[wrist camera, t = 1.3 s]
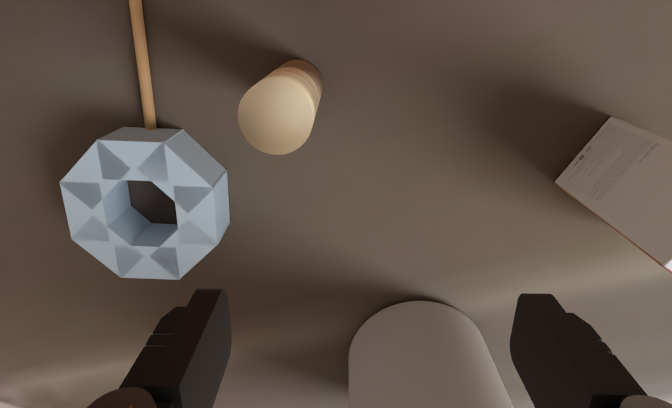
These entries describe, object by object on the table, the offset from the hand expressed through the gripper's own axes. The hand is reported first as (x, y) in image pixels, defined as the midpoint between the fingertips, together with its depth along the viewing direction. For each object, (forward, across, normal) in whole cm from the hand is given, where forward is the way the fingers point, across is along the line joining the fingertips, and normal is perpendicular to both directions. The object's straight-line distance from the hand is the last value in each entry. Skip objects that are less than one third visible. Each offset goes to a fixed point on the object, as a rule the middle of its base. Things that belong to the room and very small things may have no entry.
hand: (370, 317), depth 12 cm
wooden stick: (+23, +15, -8) cm, 29 cm away
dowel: (+23, +4, -3) cm, 24 cm away
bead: (+23, +15, +6) cm, 28 cm away
